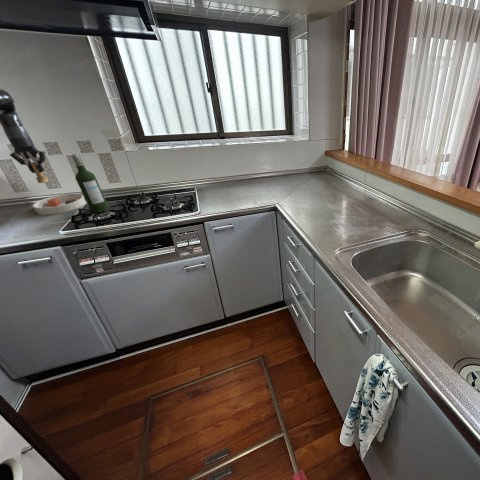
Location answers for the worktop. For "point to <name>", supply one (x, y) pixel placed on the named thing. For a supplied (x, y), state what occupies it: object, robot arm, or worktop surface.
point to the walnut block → (70, 201)
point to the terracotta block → (53, 202)
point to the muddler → (38, 174)
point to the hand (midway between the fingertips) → (38, 172)
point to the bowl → (45, 209)
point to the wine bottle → (89, 187)
